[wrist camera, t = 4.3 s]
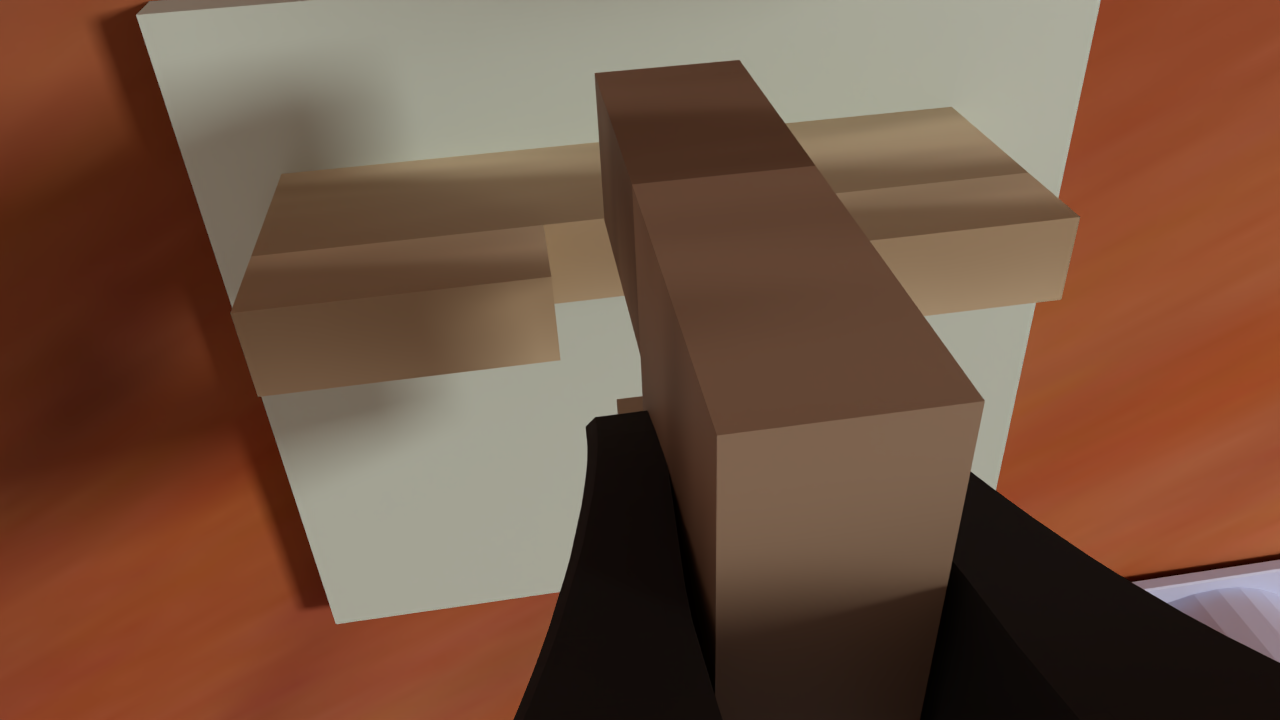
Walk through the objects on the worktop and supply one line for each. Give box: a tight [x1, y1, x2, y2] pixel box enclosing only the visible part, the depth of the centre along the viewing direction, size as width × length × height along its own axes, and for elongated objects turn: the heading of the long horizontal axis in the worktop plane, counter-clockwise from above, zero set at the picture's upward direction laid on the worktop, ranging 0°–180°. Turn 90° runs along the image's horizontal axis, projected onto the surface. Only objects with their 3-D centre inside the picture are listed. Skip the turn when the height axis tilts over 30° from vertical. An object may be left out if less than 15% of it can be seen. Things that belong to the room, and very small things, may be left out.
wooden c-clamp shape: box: [594, 60, 985, 720], centre depth 11 cm, size 7×2×7 cm, turn 3°
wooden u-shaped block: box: [230, 107, 1080, 397], centre depth 16 cm, size 1×12×5 cm, turn 93°
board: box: [136, 0, 1101, 624], centre depth 20 cm, size 14×16×1 cm
